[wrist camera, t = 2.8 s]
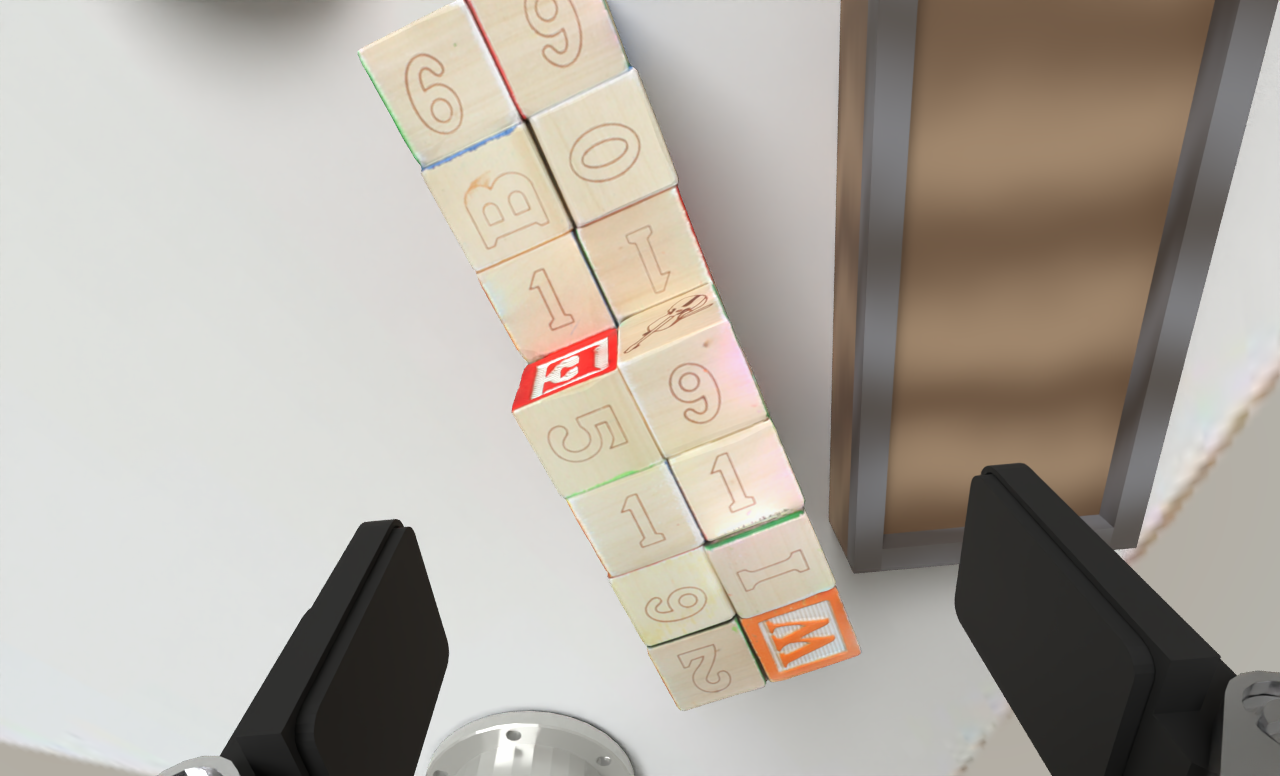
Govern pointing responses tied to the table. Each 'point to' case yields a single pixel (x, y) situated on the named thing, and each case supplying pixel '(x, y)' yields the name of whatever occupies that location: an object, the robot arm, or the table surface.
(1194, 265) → the wooden tray
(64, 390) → the table surface
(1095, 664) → the robot arm
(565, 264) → the stack of blocks
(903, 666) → the table surface
